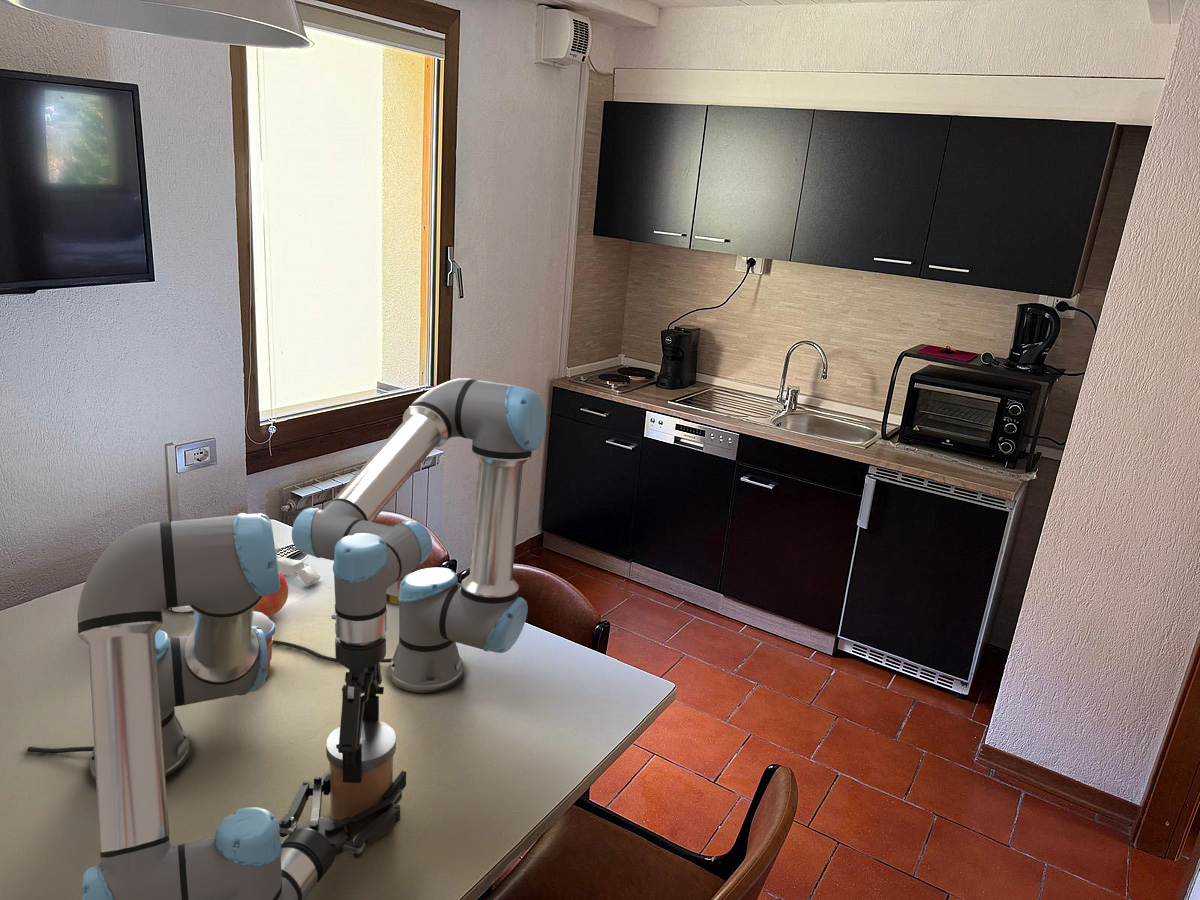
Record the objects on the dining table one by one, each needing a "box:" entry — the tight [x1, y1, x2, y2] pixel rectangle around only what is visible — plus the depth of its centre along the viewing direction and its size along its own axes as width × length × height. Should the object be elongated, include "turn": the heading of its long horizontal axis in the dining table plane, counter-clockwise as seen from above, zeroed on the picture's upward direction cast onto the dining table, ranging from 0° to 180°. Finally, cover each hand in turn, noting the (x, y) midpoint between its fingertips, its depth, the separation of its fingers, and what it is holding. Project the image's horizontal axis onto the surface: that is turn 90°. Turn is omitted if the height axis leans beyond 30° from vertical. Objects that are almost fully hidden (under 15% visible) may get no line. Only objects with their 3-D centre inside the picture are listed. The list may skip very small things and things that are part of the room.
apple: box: [253, 573, 289, 618], centre depth 199 cm, size 10×10×10 cm
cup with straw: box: [252, 611, 276, 676], centre depth 175 cm, size 9×9×18 cm
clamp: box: [275, 544, 322, 587], centre depth 219 cm, size 20×4×7 cm, turn 62°
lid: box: [325, 720, 397, 771], centre depth 136 cm, size 11×11×2 cm
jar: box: [329, 755, 394, 841], centre depth 138 cm, size 10×10×15 cm
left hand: (375, 770), depth 142 cm, fingers closed on jar, 10 cm apart
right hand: (361, 754), depth 136 cm, fingers open, 12 cm apart
